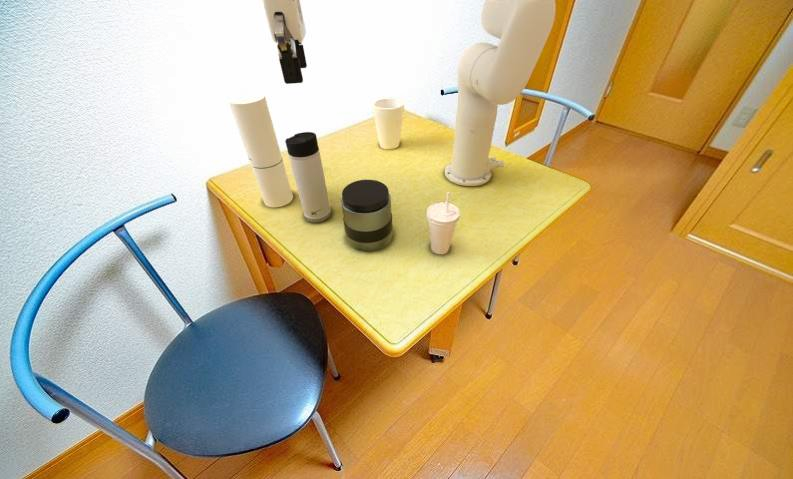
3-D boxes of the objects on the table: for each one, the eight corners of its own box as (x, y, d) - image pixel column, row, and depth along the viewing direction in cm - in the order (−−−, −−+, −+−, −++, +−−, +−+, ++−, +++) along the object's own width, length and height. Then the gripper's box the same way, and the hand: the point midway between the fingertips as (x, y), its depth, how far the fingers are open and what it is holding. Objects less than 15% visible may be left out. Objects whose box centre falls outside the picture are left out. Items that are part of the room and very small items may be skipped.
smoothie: (454, 261, 65) (462, 204, 56) (422, 256, 66) (425, 200, 57) (456, 240, 70) (464, 184, 61) (426, 236, 71) (430, 181, 62)
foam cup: (378, 137, 109) (375, 97, 100) (405, 138, 108) (405, 98, 99) (372, 150, 102) (369, 108, 93) (401, 152, 101) (401, 109, 92)
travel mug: (320, 226, 74) (301, 144, 61) (299, 217, 77) (276, 137, 63) (337, 212, 78) (323, 132, 65) (317, 204, 81) (299, 126, 67)
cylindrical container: (283, 188, 86) (254, 89, 70) (298, 198, 83) (271, 97, 66) (259, 199, 83) (221, 98, 66) (272, 211, 79) (237, 106, 62)
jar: (388, 218, 76) (386, 175, 68) (396, 248, 68) (395, 203, 61) (344, 224, 75) (337, 181, 67) (348, 255, 67) (340, 210, 59)
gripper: (289, -45, 44) (314, 88, 56) (300, -46, 57) (318, 62, 68) (232, -43, 43) (269, 91, 55) (256, -45, 56) (282, 64, 68)
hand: (296, 75), depth 62 cm, fingers open, 9 cm apart
